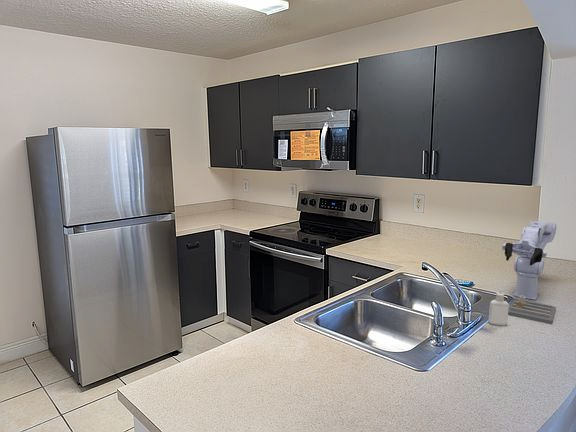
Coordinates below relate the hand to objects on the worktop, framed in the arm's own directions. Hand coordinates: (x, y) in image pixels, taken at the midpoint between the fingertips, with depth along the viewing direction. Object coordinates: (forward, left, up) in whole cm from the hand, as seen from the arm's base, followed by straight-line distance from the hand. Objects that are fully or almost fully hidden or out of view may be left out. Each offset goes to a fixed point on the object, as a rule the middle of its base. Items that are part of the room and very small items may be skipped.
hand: (518, 260), depth 148 cm
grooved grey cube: (-6, +2, -18) cm, 19 cm away
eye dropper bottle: (+16, -3, -19) cm, 25 cm away
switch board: (-2, +5, -19) cm, 20 cm away
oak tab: (+1, +2, -18) cm, 18 cm away
